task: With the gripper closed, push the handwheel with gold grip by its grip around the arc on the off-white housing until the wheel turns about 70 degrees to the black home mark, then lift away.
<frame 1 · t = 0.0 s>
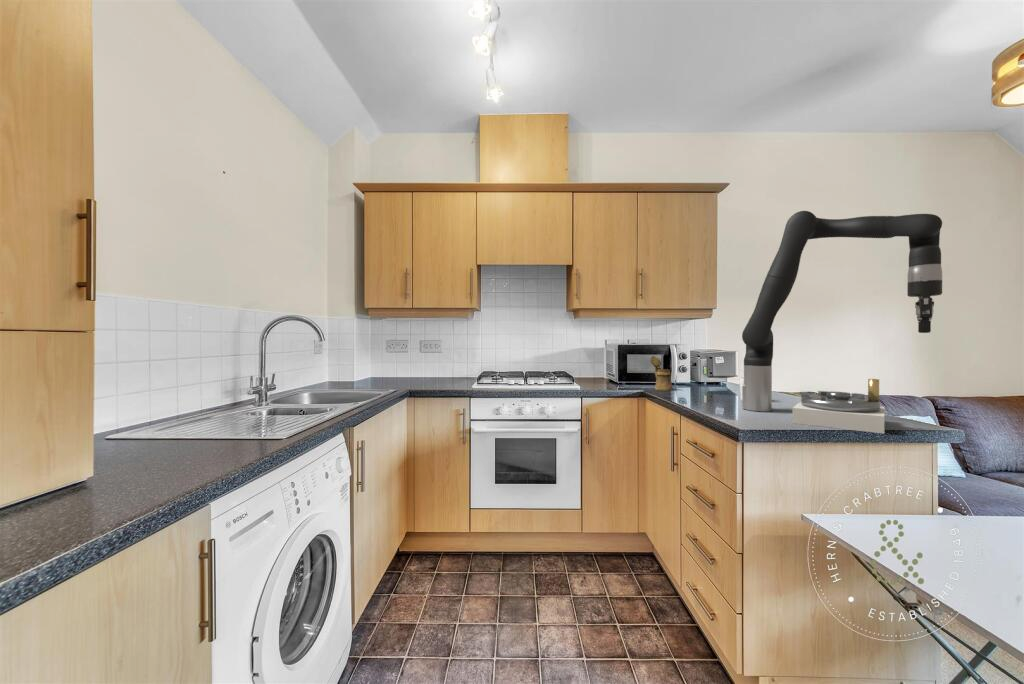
hand: (924, 332, 124), 29 cm above the worktop, fingers open, 8 cm apart
white cup: (749, 400, 178), on the worktop
nut housing: (838, 422, 131), on the worktop
utensil crock with spoon: (661, 389, 217), on the worktop
handwheel with gold grip: (838, 391, 131), point 10 cm above the worktop, hinge at 0.0°
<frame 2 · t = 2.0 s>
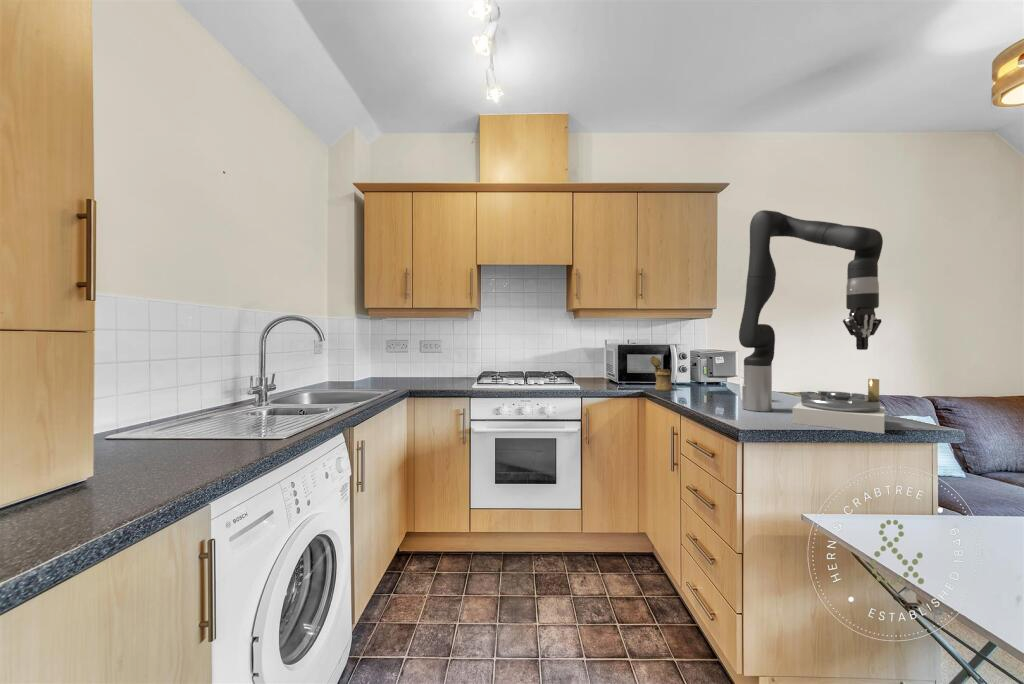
hand: (862, 349, 122), 24 cm above the worktop, fingers closed
nothing on the worktop moved.
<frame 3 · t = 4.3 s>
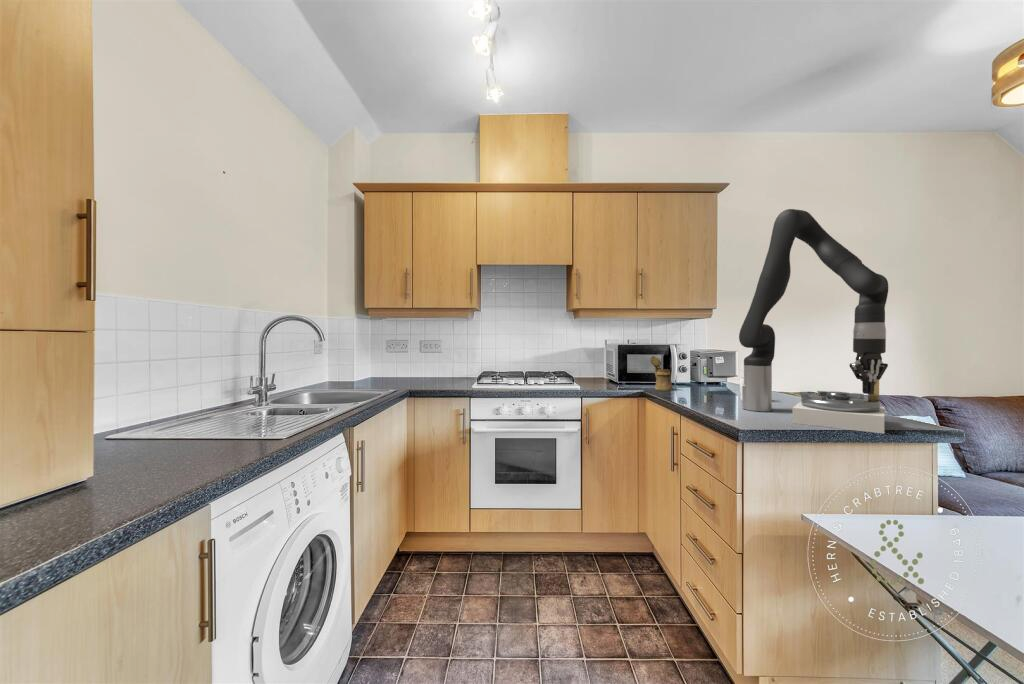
hand: (868, 393, 123), 11 cm above the worktop, fingers closed
handwheel with gold grip: (838, 391, 131), point 10 cm above the worktop, hinge at 1.3°, touching gripper
everything else where it was.
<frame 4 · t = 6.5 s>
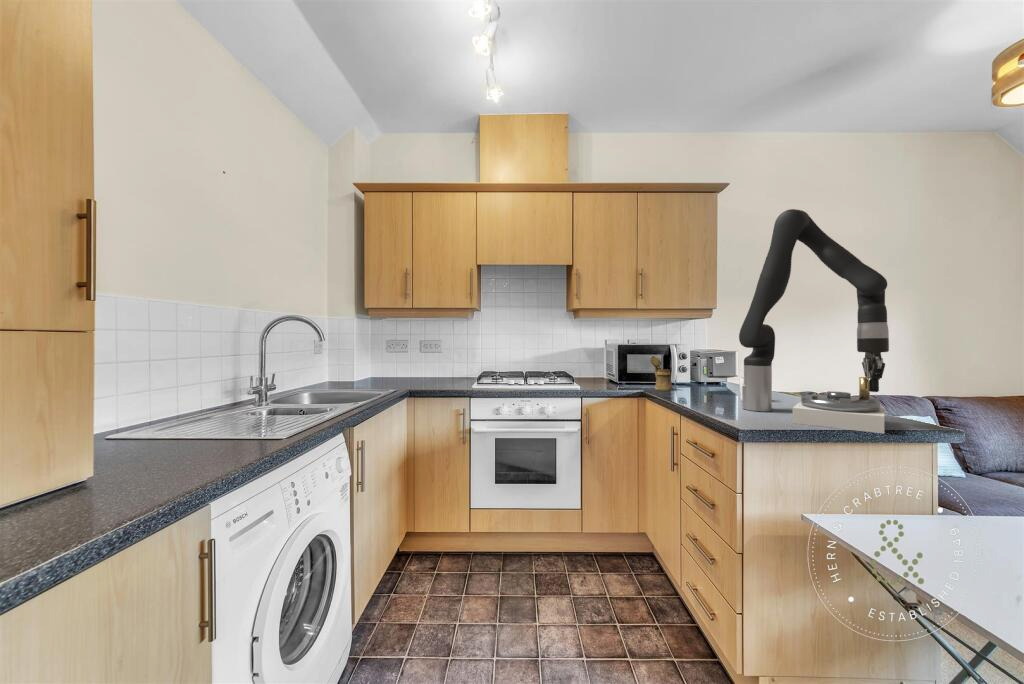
hand: (873, 391, 127), 11 cm above the worktop, fingers closed
handwheel with gold grip: (838, 391, 131), point 10 cm above the worktop, hinge at 43.4°, touching gripper
everything else where it was.
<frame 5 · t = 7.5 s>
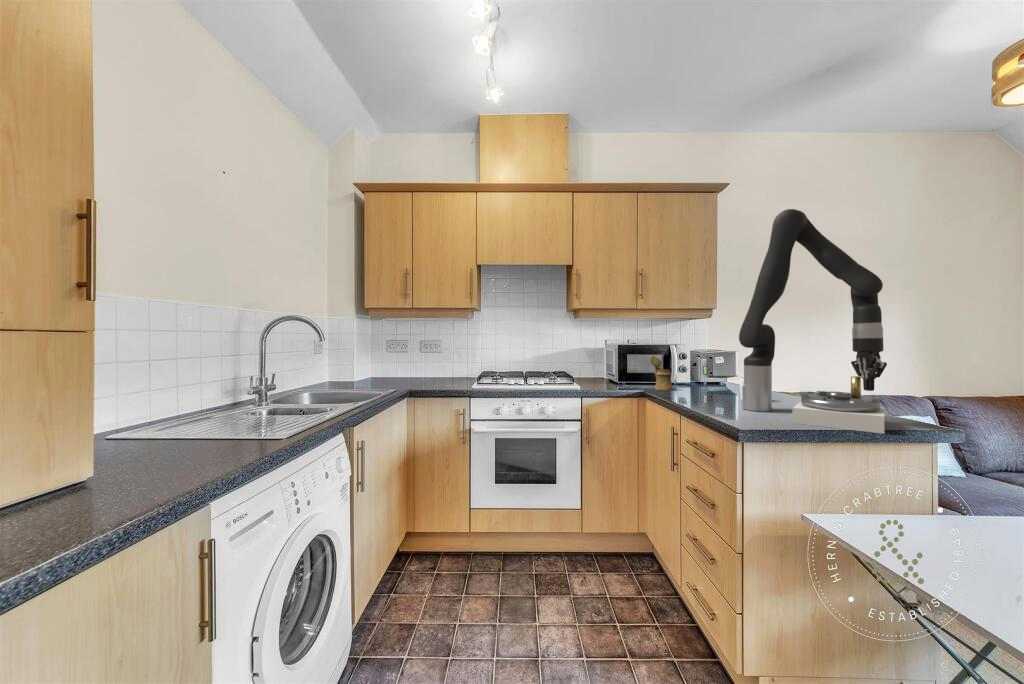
hand: (868, 390, 129), 11 cm above the worktop, fingers closed
handwheel with gold grip: (838, 391, 131), point 10 cm above the worktop, hinge at 62.3°, touching gripper
everything else where it was.
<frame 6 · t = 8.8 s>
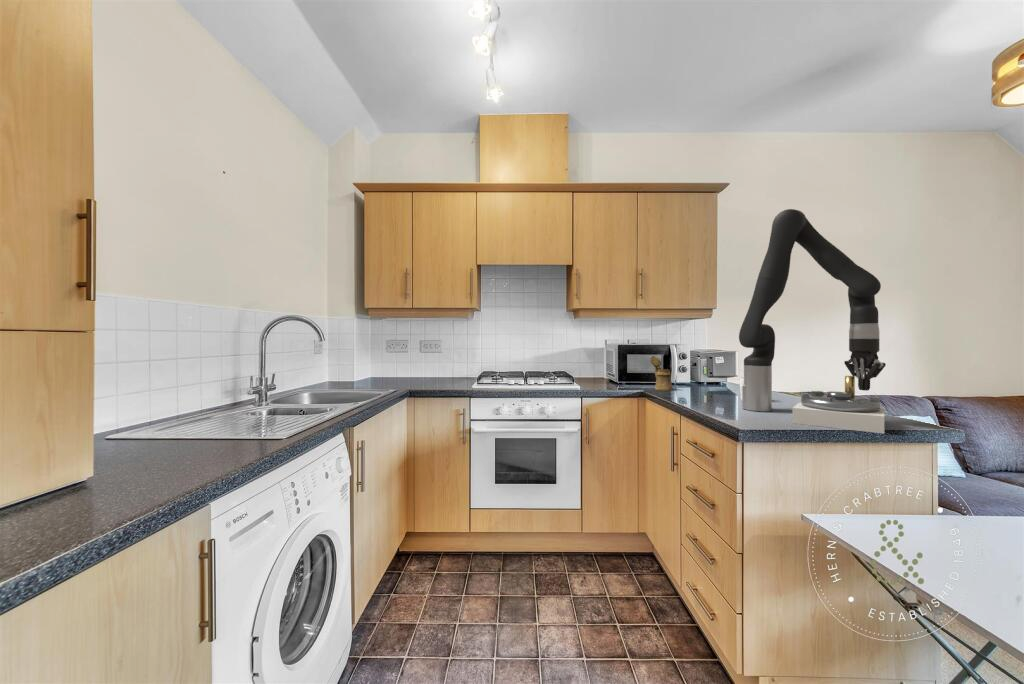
hand: (864, 390, 131), 11 cm above the worktop, fingers closed
handwheel with gold grip: (838, 391, 131), point 10 cm above the worktop, hinge at 73.8°
everything else where it was.
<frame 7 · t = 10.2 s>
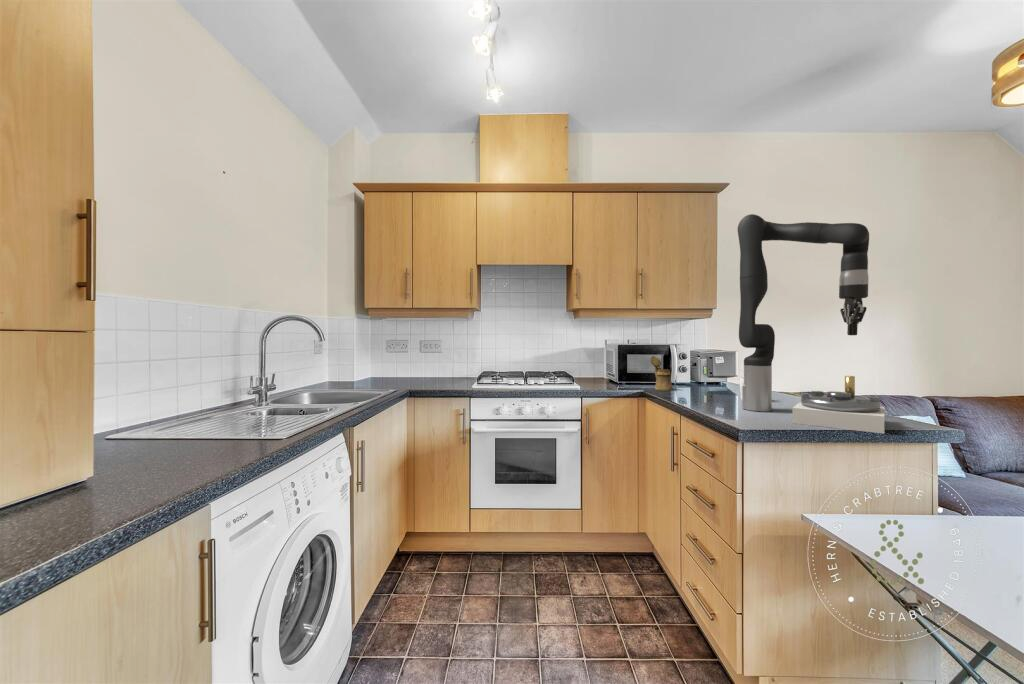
hand: (852, 335, 136), 29 cm above the worktop, fingers closed
nothing on the worktop moved.
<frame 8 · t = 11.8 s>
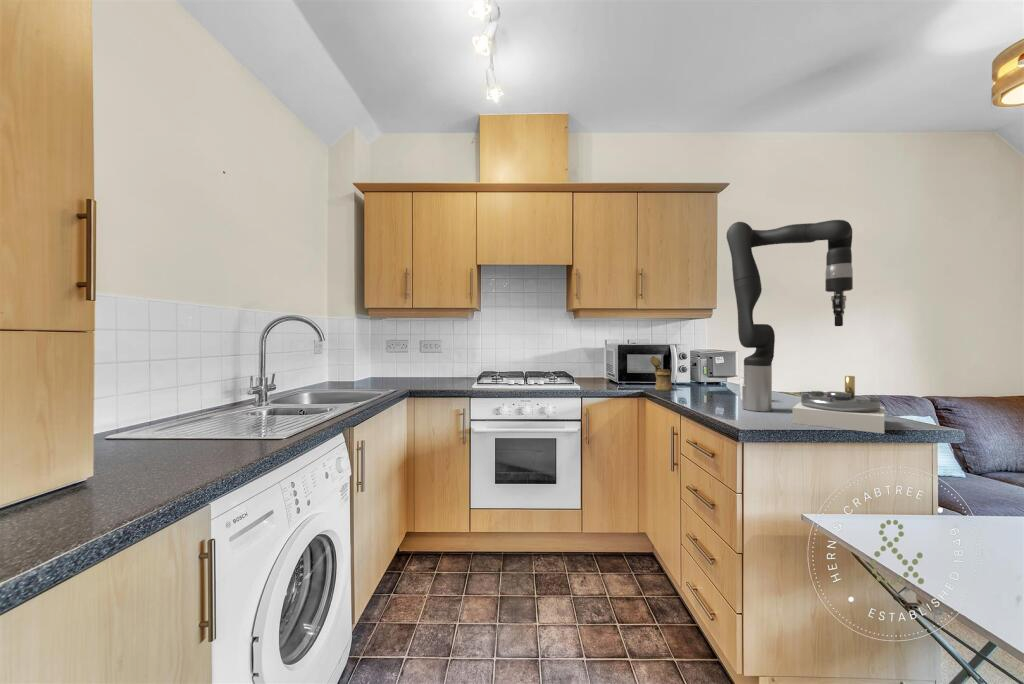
hand: (838, 326, 142), 32 cm above the worktop, fingers closed
nothing on the worktop moved.
at the end: handwheel with gold grip at +74° (first picture: +0°) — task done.
